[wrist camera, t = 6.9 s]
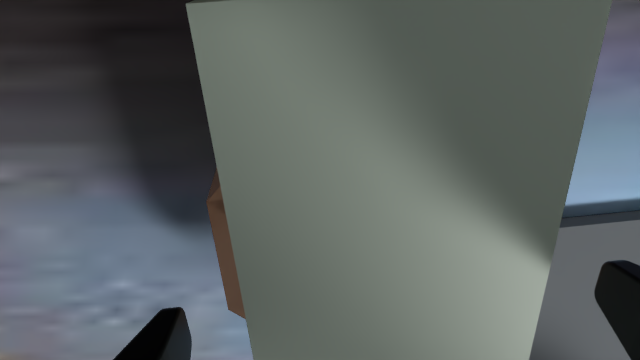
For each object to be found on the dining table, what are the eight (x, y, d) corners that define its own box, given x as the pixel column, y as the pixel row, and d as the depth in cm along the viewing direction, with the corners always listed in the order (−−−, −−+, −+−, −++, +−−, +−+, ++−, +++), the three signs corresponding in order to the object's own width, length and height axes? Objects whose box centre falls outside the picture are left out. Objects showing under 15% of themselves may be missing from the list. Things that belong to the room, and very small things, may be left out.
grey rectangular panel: (610, 402, 22) (618, 412, 22) (443, 423, 22) (447, 434, 21) (687, 205, 17) (700, 213, 16) (466, 227, 16) (473, 236, 16)
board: (478, 384, 14) (508, 447, 12) (276, 410, 13) (276, 479, 12) (544, -30, 8) (619, -29, 6) (206, -5, 8) (185, 3, 6)
